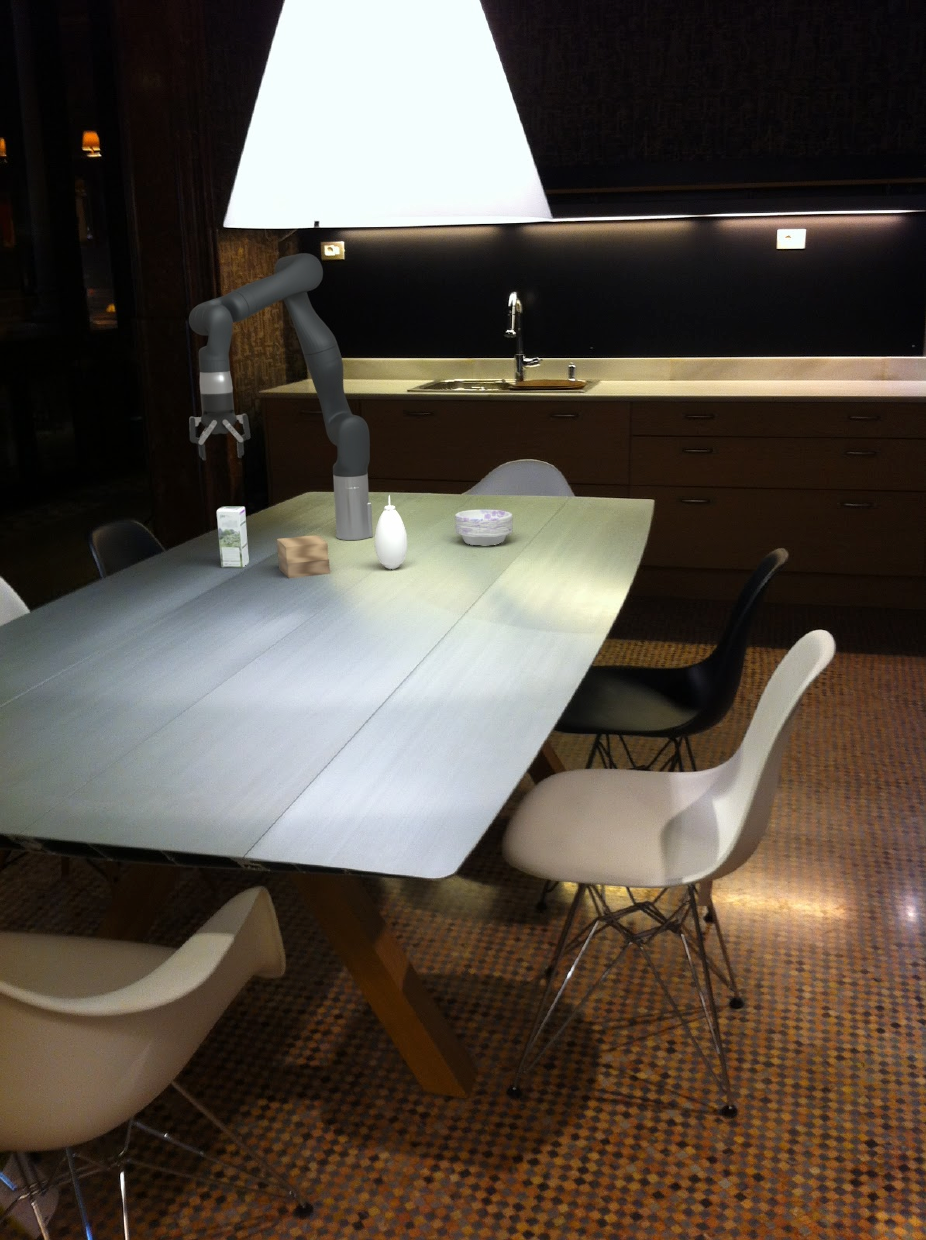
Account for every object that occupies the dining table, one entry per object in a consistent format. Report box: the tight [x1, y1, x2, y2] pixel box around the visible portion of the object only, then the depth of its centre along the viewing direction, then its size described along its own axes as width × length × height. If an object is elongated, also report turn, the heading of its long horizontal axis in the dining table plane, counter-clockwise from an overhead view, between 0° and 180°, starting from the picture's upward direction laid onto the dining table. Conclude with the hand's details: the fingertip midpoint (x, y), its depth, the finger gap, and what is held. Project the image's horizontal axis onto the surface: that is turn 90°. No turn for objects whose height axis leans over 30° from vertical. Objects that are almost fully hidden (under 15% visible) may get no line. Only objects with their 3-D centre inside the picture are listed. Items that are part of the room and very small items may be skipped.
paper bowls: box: [454, 509, 514, 546], centre depth 306 cm, size 15×15×8 cm
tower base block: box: [278, 556, 331, 579], centre depth 280 cm, size 10×10×4 cm
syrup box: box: [216, 506, 250, 569], centre depth 286 cm, size 6×6×14 cm
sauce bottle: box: [374, 495, 408, 570], centre depth 279 cm, size 8×8×18 cm
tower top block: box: [276, 534, 329, 564], centre depth 279 cm, size 10×10×4 cm
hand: (222, 458), depth 282 cm, fingers open, 8 cm apart
